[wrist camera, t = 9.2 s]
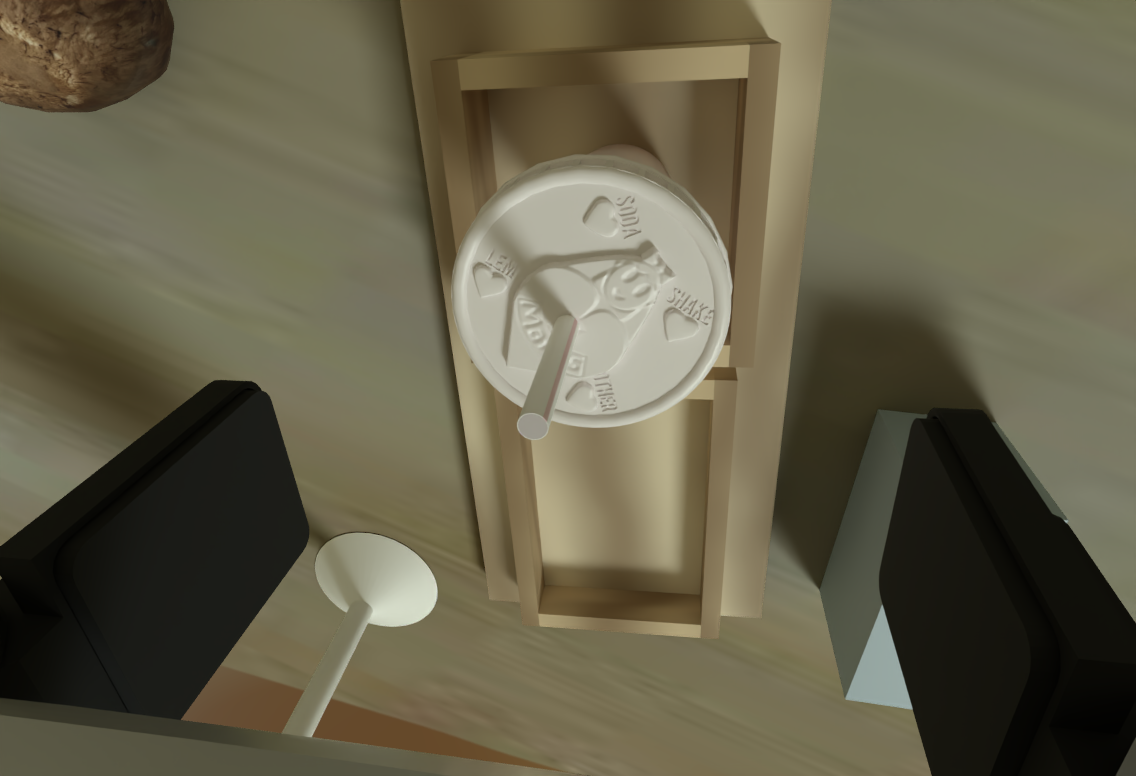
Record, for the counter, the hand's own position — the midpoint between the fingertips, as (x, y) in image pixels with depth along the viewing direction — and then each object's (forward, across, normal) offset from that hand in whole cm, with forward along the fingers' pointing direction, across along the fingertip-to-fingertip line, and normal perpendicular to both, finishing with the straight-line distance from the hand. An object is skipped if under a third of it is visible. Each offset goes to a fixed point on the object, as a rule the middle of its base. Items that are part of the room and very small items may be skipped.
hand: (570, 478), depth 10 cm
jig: (+17, +1, +6) cm, 18 cm away
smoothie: (+16, +1, 0) cm, 16 cm away
